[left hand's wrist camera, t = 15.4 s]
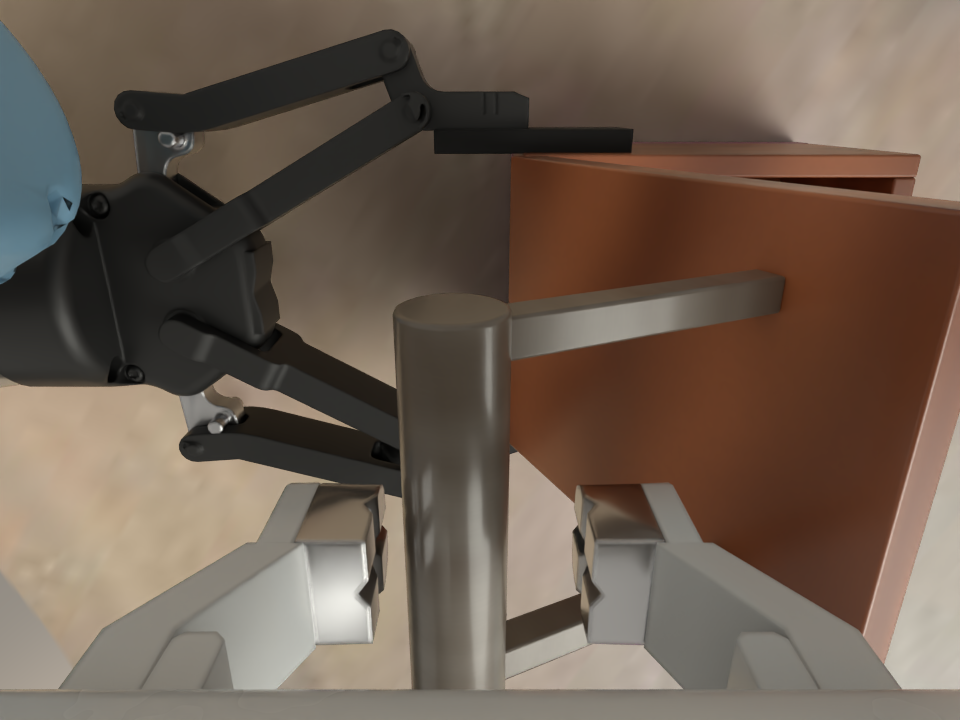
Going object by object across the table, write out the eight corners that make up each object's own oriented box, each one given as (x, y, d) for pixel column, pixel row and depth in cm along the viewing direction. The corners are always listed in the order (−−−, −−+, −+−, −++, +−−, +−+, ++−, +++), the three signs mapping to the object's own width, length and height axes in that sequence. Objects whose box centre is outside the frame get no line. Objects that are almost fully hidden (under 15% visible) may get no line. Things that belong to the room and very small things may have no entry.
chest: (795, 141, 29) (922, 154, 20) (760, 349, 32) (856, 431, 24) (511, 141, 29) (523, 154, 20) (508, 348, 32) (517, 430, 24)
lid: (1023, 207, 9) (503, 265, 6) (869, 719, 13) (493, 941, 9) (539, 155, 20) (267, 163, 17) (530, 435, 24) (304, 488, 20)
